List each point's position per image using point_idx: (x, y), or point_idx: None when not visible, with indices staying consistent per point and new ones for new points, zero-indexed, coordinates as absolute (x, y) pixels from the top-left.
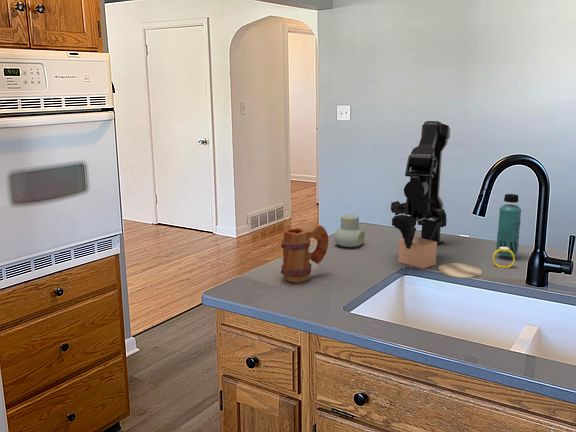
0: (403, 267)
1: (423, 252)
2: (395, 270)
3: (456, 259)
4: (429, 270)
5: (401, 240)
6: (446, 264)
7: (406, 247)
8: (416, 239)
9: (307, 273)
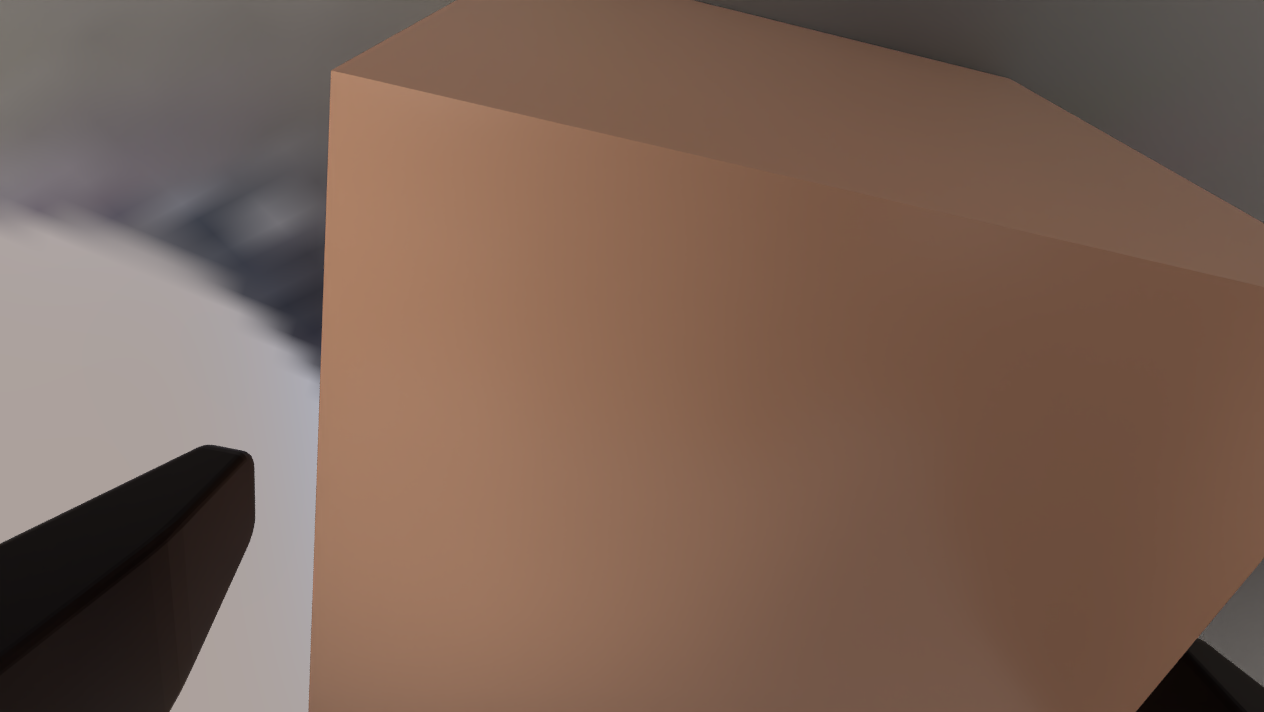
0: (275, 229)
1: None
2: (3, 185)
3: None
4: None
5: (338, 213)
6: None
7: (187, 462)
8: (844, 644)
9: None
